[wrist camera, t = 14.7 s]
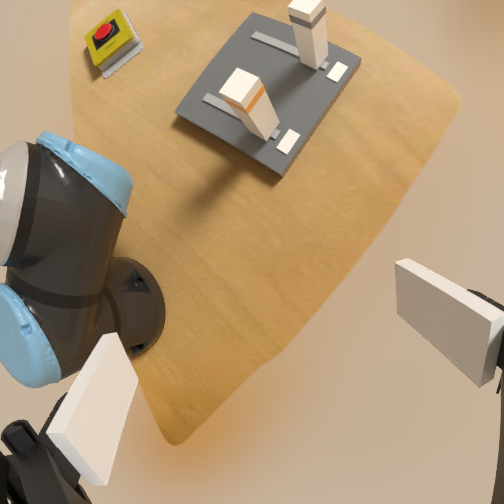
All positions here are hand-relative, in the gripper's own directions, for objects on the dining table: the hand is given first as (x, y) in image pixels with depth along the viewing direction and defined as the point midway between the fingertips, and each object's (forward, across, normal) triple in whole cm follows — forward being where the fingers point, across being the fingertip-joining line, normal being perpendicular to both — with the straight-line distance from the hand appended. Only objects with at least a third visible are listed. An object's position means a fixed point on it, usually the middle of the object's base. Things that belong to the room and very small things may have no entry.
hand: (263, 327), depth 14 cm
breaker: (+27, +15, +19) cm, 37 cm away
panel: (+31, +9, +17) cm, 37 cm away
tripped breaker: (+28, +6, +11) cm, 30 cm away
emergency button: (+45, -14, +37) cm, 60 cm away
